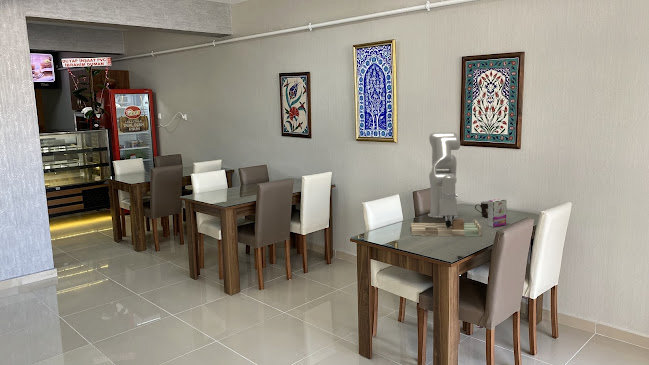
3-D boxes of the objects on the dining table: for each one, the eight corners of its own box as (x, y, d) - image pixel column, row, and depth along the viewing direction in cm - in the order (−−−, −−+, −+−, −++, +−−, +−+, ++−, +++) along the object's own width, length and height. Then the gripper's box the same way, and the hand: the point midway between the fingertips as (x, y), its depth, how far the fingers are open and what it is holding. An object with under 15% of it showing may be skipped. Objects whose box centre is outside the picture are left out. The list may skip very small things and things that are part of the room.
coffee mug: (495, 216, 327) (495, 201, 326) (492, 219, 320) (492, 204, 319) (477, 214, 334) (478, 200, 332) (474, 217, 326) (474, 202, 325)
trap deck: (410, 227, 304) (410, 219, 303) (475, 228, 298) (475, 219, 297) (411, 235, 285) (411, 226, 284) (480, 236, 280) (480, 226, 279)
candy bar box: (500, 223, 308) (500, 198, 305) (506, 225, 303) (507, 199, 301) (487, 226, 303) (487, 200, 300) (493, 227, 298) (494, 201, 296)
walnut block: (452, 227, 290) (452, 218, 290) (462, 227, 290) (462, 218, 289) (453, 229, 284) (453, 221, 284) (464, 229, 284) (464, 221, 283)
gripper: (460, 195, 287) (460, 225, 290) (435, 195, 289) (434, 225, 292) (462, 197, 280) (462, 228, 282) (435, 197, 282) (435, 228, 285)
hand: (448, 227), depth 287 cm, fingers closed
